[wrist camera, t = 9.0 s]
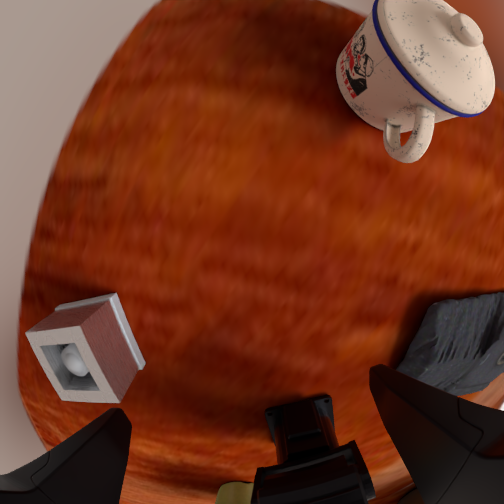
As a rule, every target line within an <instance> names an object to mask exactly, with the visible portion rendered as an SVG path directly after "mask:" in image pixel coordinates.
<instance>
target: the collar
mask: <svg viewBox="0 0 504 504" xmlns="http://www.w3.org/2000/svg"><path fill="white" fill-rule="evenodd" d="M25 334H26V336H27V338H28V340H29V342H30V344H31V346H32V348H33V351H34V353H35V354H36V356H37V358H38V360H39V362H40V364H41V366H42V368H43V370H44V371H45V373H46V375H47V377H48V378H49V380H50V382H51V383H52V385H53V387H54V388H55V390H56V392H57V393H58V395H59V396H60V398H61V400H65V401H78V402H97V403H120V402H121V400H122V398H123V397H124V395H125V393H126V391H127V389H128V387H129V386H130V384H131V382H132V380H133V378H134V377H135V375H136V373H137V371H138V370H139V368H140V366H139V364H138V362H137V360H136V358H135V356H134V354H133V352H132V349H131V347H130V345H129V343H128V340H127V338H126V336H125V334H124V331H123V329H122V326H121V324H120V322H119V319H118V317H117V314H116V312H115V309H114V306H113V304H112V301H111V299H107V300H102V301H97V302H92V303H88V304H83V305H78V306H73V307H68V308H62V309H57V310H56V311H54V312H53V313H51V314H50V315H49V316H47V317H46V318H45V319H43V320H42V321H40V322H39V323H38V324H36V325H35V326H34V327H32V328H31V329H30V330H28V331H27V332H26V333H25ZM70 343H75V344H76V346H77V348H78V350H79V352H80V354H81V356H82V358H83V360H84V362H85V364H86V366H87V368H88V370H89V372H88V373H87V374H86V375H85V376H77V375H75V374H73V373H72V372H70V371H69V370H68V369H67V367H66V366H65V365H64V363H63V361H62V357H61V354H62V351H63V350H64V349H65V348H66V347H67V346H68V345H69V344H70Z"/></svg>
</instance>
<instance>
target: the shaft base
mask: <svg viewBox="0 0 504 504" xmlns="http://www.w3.org/2000/svg"><path fill="white" fill-rule="evenodd" d="M107 299H111V301H112V304H113V306H114V309H115V312H116V314H117V317H118V319H119V322H120V324H121V326H122V329H123V331H124V334H125V336H126V338H127V340H128V343H129V345H130V347H131V349H132V352H133V354H134V356H135V358H136V360H137V362H138V364H139V366H140V368H139V370H142V369H143V367H144V366H145V364H146V363H145V361H144V359H143V356H142V354H141V352H140V350H139V348H138V345H137V343H136V341H135V338H134V336H133V334H132V331H131V329H130V327H129V324H128V322H127V319H126V317H125V314H124V311H123V309H122V306H121V304H120V301H119V298H118V295H117V293H113V294H109V295H104V296H99V297H95V298H90V299H85V300H80V301H76V302H71V303H66V304H61V305H59V306H58V307H56V308H55V311H56V310H57V309H62V308H68V307H73V306H78V305H83V304H88V303H92V302H97V301H102V300H107ZM61 357H62V361H63V363H64V365H65V366H66V367H67V369H68V370H69V371H70V372H72V373H73V374H75V375H77V376H85V375H86V374H87V373H88V372H89V370H88V368H87V366H86V364H85V362H84V360H83V358H82V356H81V354H80V352H79V350H78V348H77V346H76V344H75V343H70V344H69V345H68V346H67V347H66V348H65V349H64V350H63V351H62V354H61Z"/></svg>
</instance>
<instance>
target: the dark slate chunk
mask: <svg viewBox="0 0 504 504" xmlns="http://www.w3.org/2000/svg"><path fill="white" fill-rule="evenodd" d="M396 371H399V372H401V373H403V374H405V375H408V376H410V377H412V378H415V379H417V380H419V381H421V382H424V383H426V384H428V385H431V386H433V387H436V388H438V389H440V390H443V391H445V392H448V393H450V394H452V395H455V396H459V395H465V394H470V393H474V392H477V391H482V390H483V389H484V388H486V387H487V386H488V385H489V383H490V382H491V381H493V380H494V379H495V378H496V377H497V376H499V375H500V374H501V373H503V372H504V292H503V293H501V292H498V293H497V294H496V293H494V294H493V293H492V294H490V295H487V294H485V295H479V296H477V297H469V298H464V299H458V300H455V299H447V300H443V301H440V302H437V303H434V304H432V305H431V306H430V307H429V308H428V310H427V313H426V315H425V317H424V319H423V321H422V323H421V326H420V328H419V329H418V331H417V333H416V335H415V337H414V339H413V341H412V343H411V344H410V347H409V349H408V351H407V353H406V355H405V358H404V360H403V361H402V362H401V363H400V364H399V365H398V367H397V369H396Z"/></svg>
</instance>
